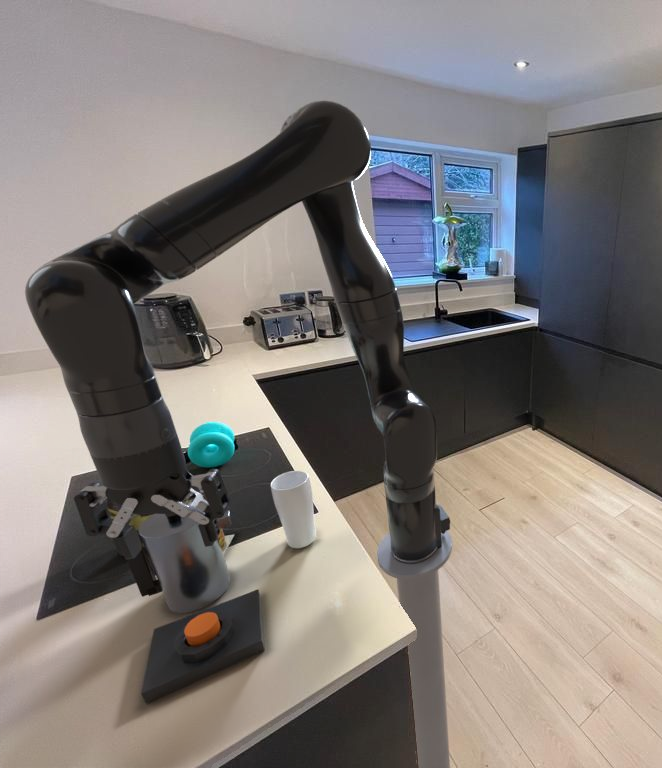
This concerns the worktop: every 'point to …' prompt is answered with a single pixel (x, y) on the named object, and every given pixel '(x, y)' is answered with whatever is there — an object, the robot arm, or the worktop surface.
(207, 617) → the button
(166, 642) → the black base plate
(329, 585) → the worktop surface
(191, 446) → the turquoise yo-yo
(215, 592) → the kettle
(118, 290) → the robot arm
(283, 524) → the drinking glass
